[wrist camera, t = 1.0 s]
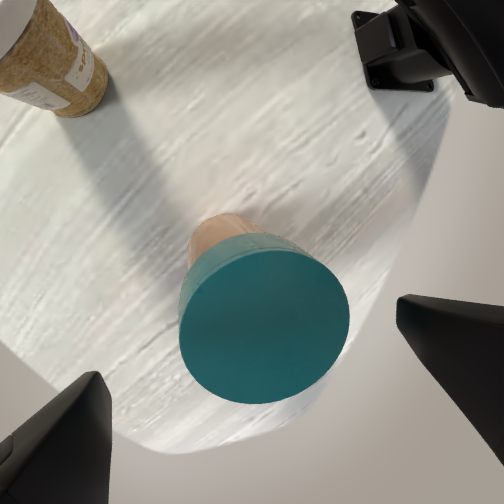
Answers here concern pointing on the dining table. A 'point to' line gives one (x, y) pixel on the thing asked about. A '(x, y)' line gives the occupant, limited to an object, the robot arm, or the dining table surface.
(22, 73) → the sprinkles bottle
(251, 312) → the lid
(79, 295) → the dining table surface
